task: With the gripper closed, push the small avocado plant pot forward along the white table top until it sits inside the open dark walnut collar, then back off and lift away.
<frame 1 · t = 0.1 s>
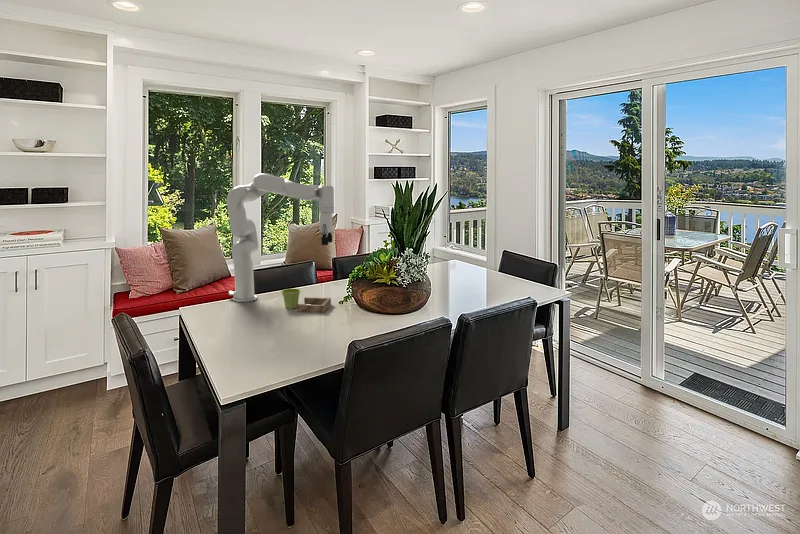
hand: (327, 243, 248), 31 cm above the table, tool pointing down, fingers open, 9 cm apart
plant pot: (291, 307, 244), on the table
walnut collar: (312, 308, 243), on the table
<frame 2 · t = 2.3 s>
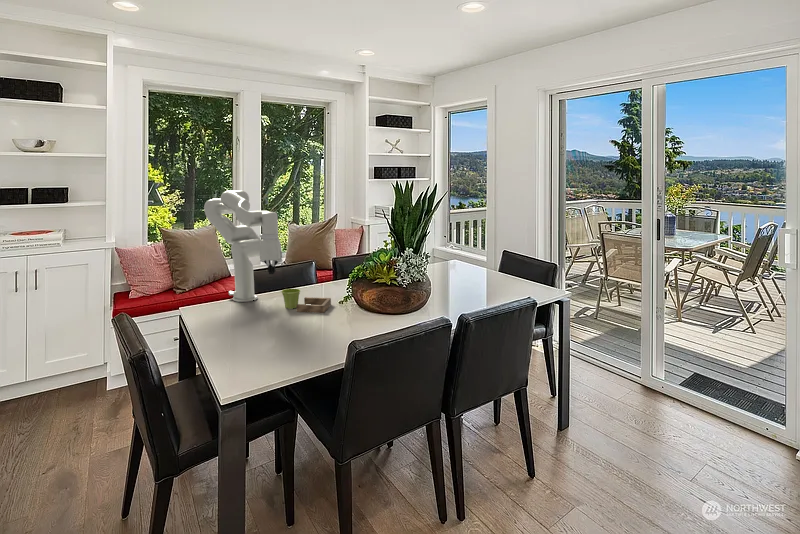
hand: (271, 273, 241), 17 cm above the table, tool pointing down, fingers closed
nothing on the table moved.
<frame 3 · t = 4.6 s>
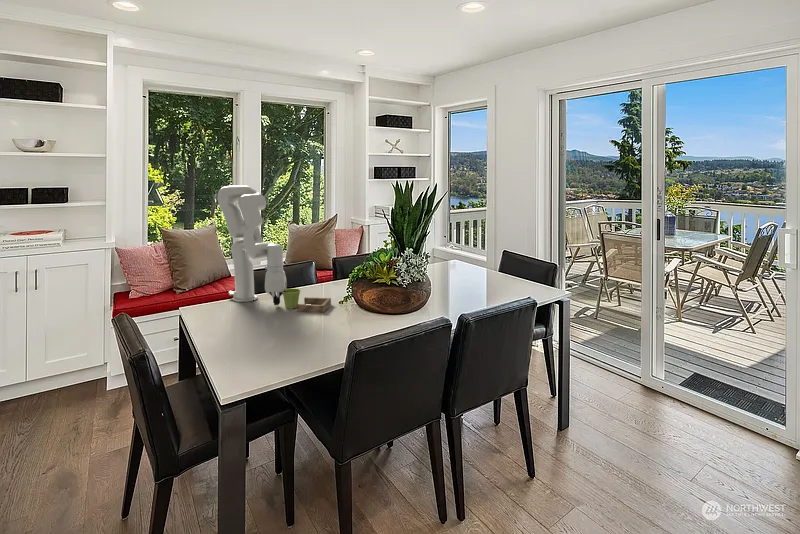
hand: (276, 304, 244), 1 cm above the table, tool pointing down, fingers closed
plant pot: (291, 307, 244), on the table, touching gripper
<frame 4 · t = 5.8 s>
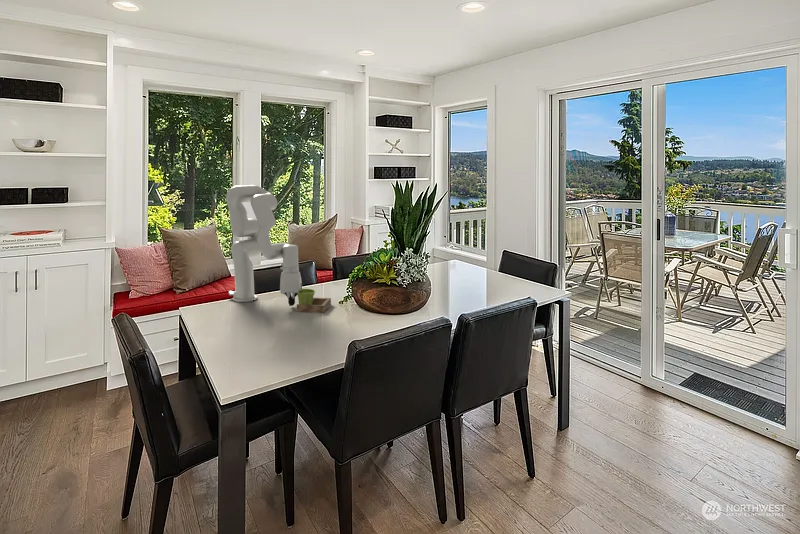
hand: (291, 305, 243), 1 cm above the table, tool pointing down, fingers closed
plant pot: (305, 308, 243), on the table, touching gripper
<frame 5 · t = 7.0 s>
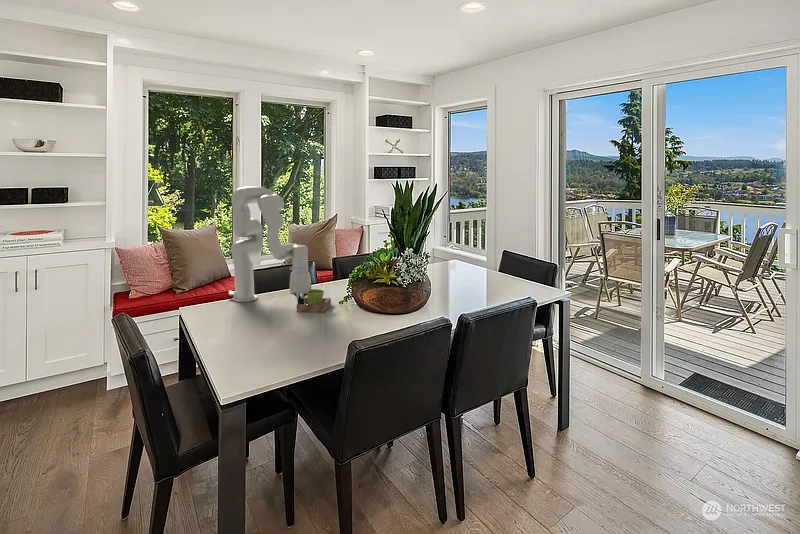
hand: (301, 305, 243), 1 cm above the table, tool pointing down, fingers closed
plant pot: (314, 308, 242), on the table, touching gripper
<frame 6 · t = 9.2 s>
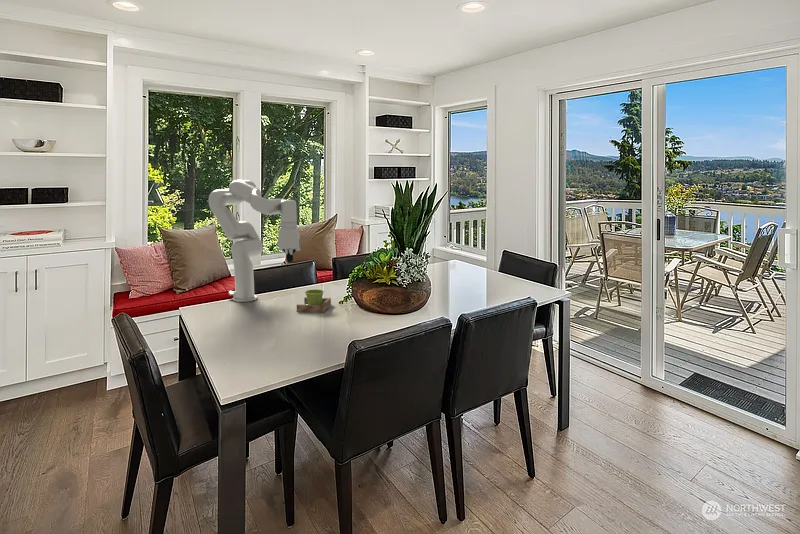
hand: (289, 262, 240), 23 cm above the table, tool pointing down, fingers closed
plant pot: (314, 308, 242), on the table
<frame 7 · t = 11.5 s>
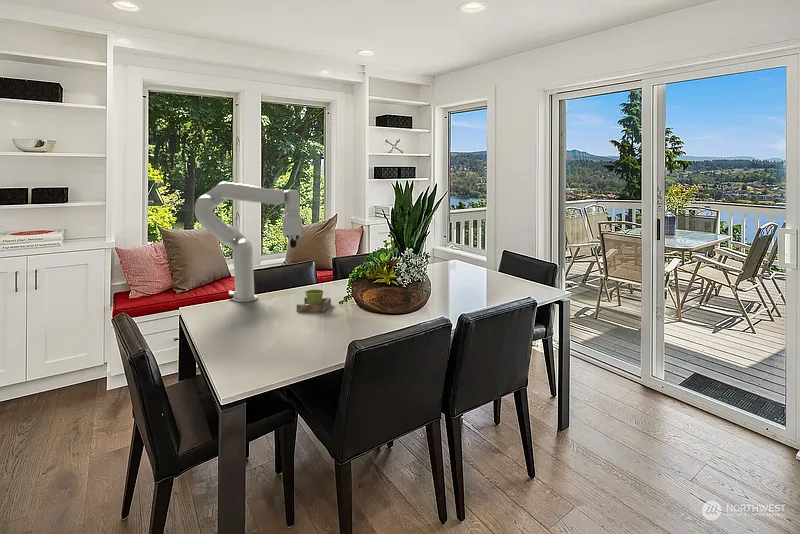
hand: (293, 247, 260), 27 cm above the table, tool pointing down, fingers closed
nothing on the table moved.
at the end: plant pot inside the target area (0.3 cm from its centre), on the table; plant pot tilted 0° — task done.
